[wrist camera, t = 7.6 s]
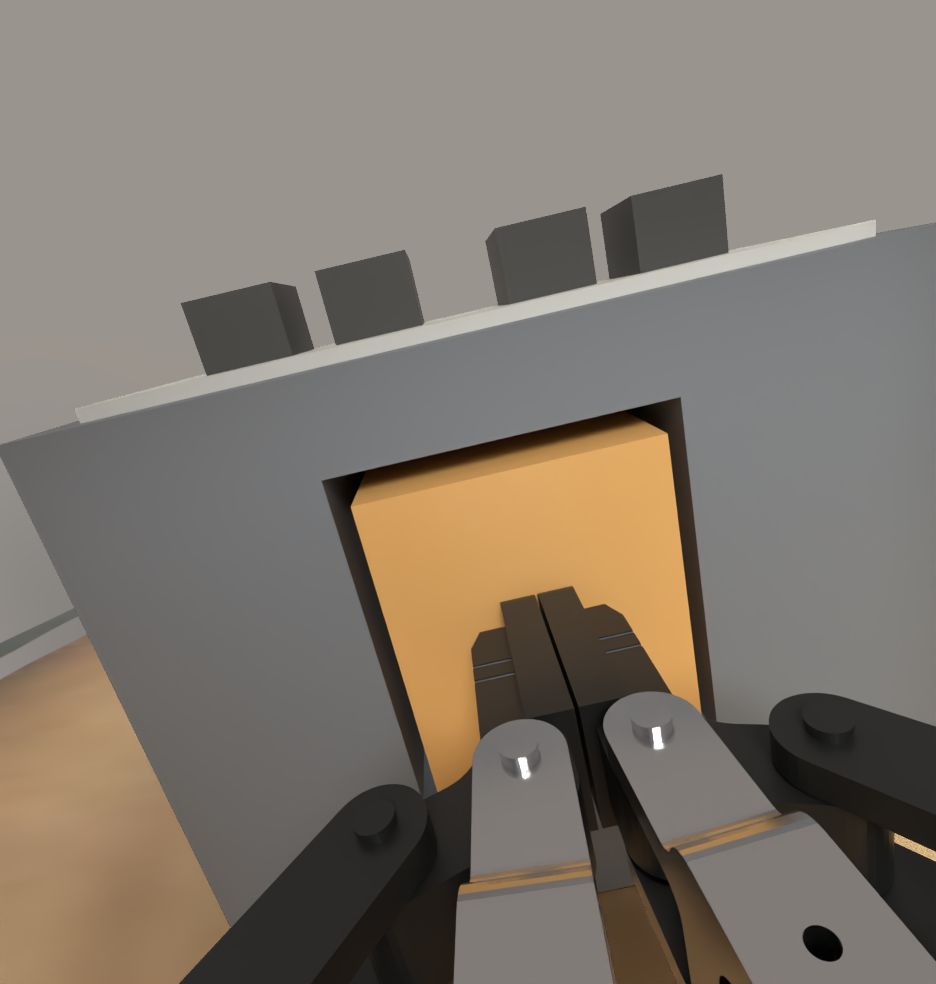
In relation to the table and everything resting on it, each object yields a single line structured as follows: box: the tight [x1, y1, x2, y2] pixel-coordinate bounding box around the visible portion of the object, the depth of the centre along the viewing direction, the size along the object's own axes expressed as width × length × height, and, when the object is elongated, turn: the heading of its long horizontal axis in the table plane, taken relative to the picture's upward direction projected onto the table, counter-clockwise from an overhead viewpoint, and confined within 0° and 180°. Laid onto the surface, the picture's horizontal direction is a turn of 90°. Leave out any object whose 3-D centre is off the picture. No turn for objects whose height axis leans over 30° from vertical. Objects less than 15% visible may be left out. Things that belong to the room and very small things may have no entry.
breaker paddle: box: [351, 410, 702, 792], centre depth 14 cm, size 6×5×7 cm
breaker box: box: [0, 175, 936, 927], centre depth 16 cm, size 18×8×16 cm, turn 94°
